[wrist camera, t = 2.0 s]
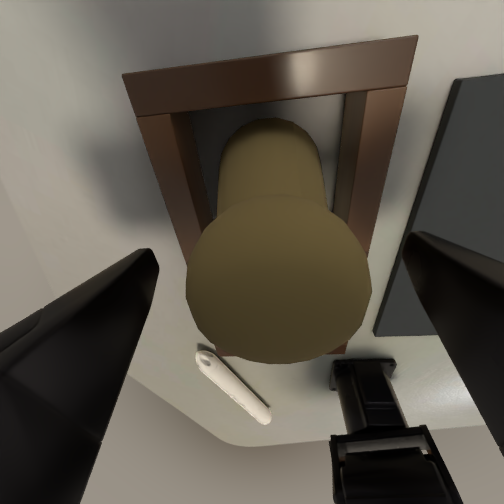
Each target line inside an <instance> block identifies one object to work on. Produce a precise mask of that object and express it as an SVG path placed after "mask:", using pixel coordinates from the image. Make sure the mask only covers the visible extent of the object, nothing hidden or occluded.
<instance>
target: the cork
mask: <svg viewBox="0 0 504 504" xmlns="http://www.w3.org/2000/svg"><path fill="white" fill-rule="evenodd" d="M371 294H372V286H371V279H370V272H369V267H368V261H367V256H366V253H365V251H364V250H363V248H362V246H361V244H360V243H359V241H358V240H357V238H356V237H355V235H354V234H353V233H352V231H351V230H350V229H349V227H348V226H347V224H346V223H345V222H344V221H343V220H342V219H341V218H339V217H338V216H336V215H335V214H334V213H332V212H330V211H329V210H328V206H327V199H326V193H325V187H324V181H323V174H322V168H321V162H320V158H319V154H318V150H317V146H316V145H315V143H314V142H313V140H312V139H311V137H310V136H309V134H308V133H307V132H306V131H305V130H303V129H302V128H301V127H299V126H298V125H296V124H295V123H294V122H291V121H287V120H284V119H280V118H276V117H274V118H263V119H257V120H254V121H252V122H250V123H248V124H246V125H244V126H242V127H241V128H239V129H238V130H237V131H236V132H235V133H234V134H233V135H232V136H231V137H230V138H229V140H228V142H227V144H226V146H225V148H224V149H223V151H222V153H221V159H220V166H219V178H218V201H217V218H216V219H215V220H213V221H212V222H211V223H210V224H209V225H208V226H207V227H206V228H205V229H204V231H203V233H202V235H201V236H200V238H199V240H198V242H197V243H196V245H195V247H194V249H193V251H192V253H191V256H190V258H189V261H188V266H187V277H186V300H187V302H188V305H189V308H190V311H191V313H192V316H193V318H194V321H195V323H196V325H197V328H198V329H199V330H200V331H201V333H202V334H203V335H204V336H205V337H206V338H207V339H208V340H209V341H210V342H211V343H212V344H214V345H216V346H217V347H219V348H220V349H222V350H224V351H225V352H227V353H229V354H232V355H234V356H237V357H240V358H243V359H246V360H249V361H253V362H260V363H266V364H291V363H297V362H302V361H308V360H311V359H314V358H316V357H319V356H322V355H324V354H327V353H329V352H331V351H333V350H334V349H336V348H337V347H339V346H341V345H342V344H344V343H345V342H347V341H348V340H350V338H351V337H352V336H353V335H354V334H355V332H356V331H357V330H358V329H359V328H360V326H361V325H362V322H363V319H364V316H365V313H366V310H367V307H368V304H369V300H370V297H371Z"/></svg>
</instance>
